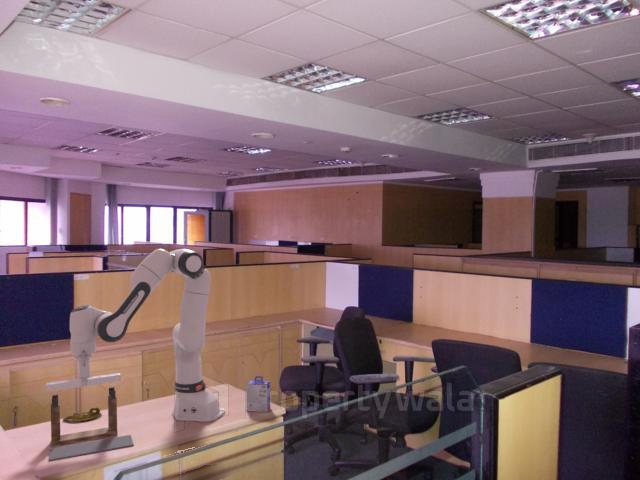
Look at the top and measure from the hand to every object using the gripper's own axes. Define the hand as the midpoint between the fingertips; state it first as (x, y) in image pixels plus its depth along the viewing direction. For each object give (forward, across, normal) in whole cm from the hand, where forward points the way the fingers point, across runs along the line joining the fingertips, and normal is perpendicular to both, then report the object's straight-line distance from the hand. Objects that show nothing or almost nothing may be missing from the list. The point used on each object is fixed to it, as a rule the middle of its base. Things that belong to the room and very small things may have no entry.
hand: (84, 383), depth 200 cm
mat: (+21, -11, -1) cm, 24 cm away
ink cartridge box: (+22, -2, -69) cm, 73 cm away
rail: (0, 0, 0) cm, 0 cm away
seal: (+22, +22, +1) cm, 31 cm away
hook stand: (+21, 0, +1) cm, 21 cm away
